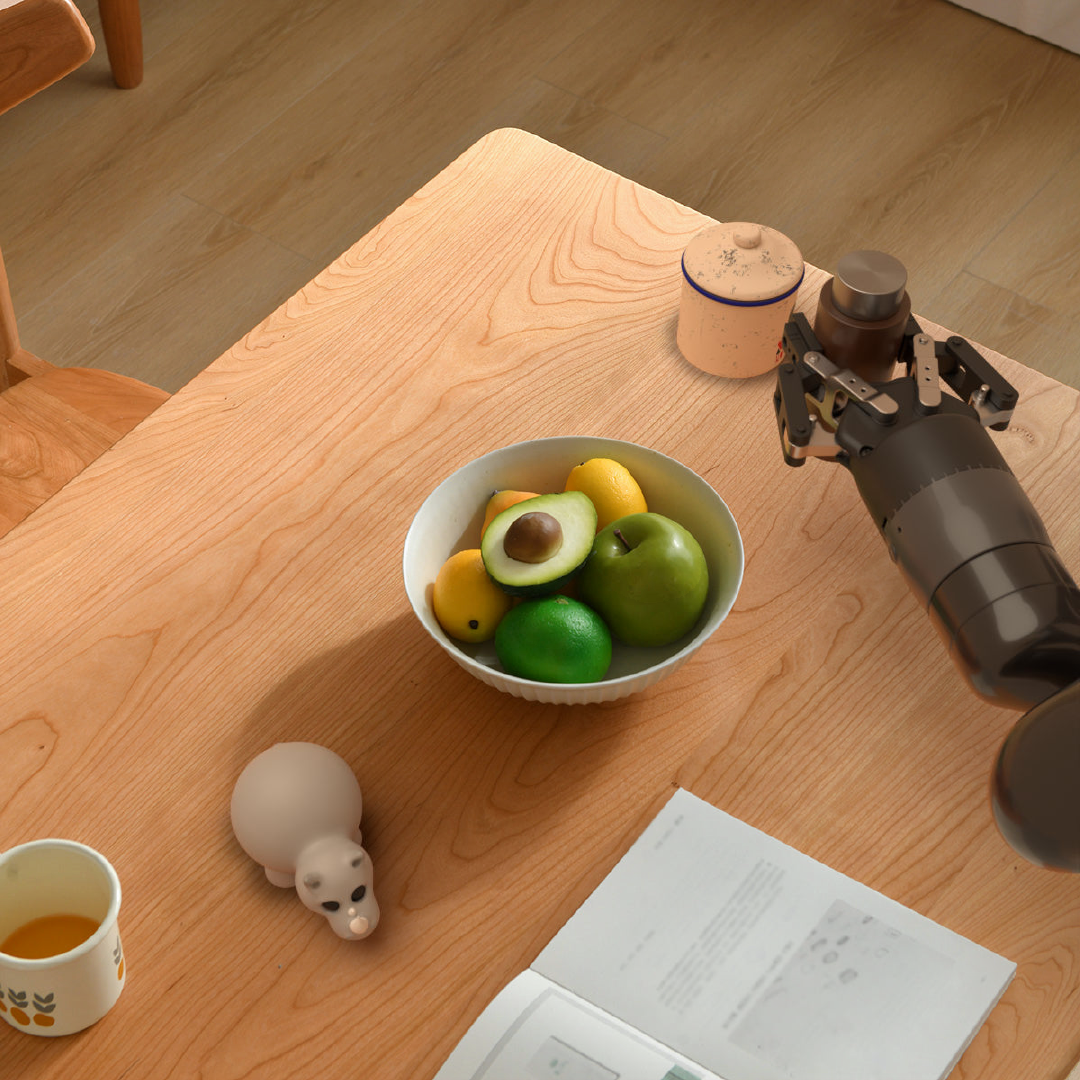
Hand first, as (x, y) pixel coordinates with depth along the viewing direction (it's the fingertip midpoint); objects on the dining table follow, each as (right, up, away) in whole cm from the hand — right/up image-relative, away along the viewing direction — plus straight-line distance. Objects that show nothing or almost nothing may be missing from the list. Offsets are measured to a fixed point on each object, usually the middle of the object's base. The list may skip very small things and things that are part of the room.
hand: (838, 317), depth 82 cm
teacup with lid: (-3, +2, +25) cm, 26 cm away
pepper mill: (+1, -7, +4) cm, 8 cm away
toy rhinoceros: (-31, -33, -4) cm, 45 cm away
